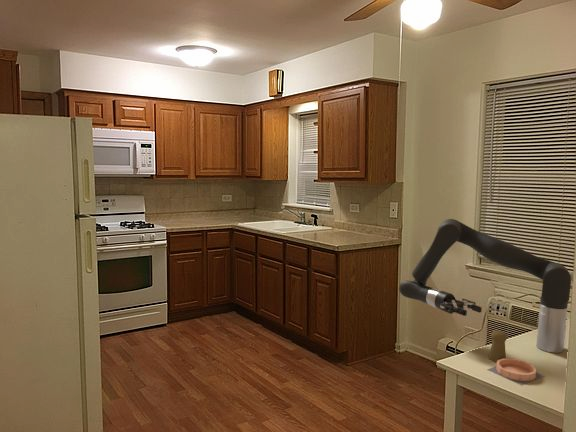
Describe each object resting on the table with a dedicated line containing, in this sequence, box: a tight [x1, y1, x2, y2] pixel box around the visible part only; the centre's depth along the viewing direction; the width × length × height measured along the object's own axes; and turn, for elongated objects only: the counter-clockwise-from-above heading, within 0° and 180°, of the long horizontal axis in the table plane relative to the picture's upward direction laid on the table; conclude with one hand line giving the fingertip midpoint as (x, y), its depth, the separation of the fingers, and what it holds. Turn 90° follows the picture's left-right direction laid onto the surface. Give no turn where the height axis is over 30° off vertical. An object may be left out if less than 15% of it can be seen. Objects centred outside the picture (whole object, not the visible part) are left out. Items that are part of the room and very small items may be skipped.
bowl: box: [495, 358, 537, 382], centre depth 164 cm, size 12×12×2 cm
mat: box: [486, 366, 546, 386], centre depth 164 cm, size 13×13×1 cm
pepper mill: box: [488, 330, 508, 364], centre depth 174 cm, size 6×6×11 cm
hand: (473, 311), depth 182 cm, fingers open, 8 cm apart
